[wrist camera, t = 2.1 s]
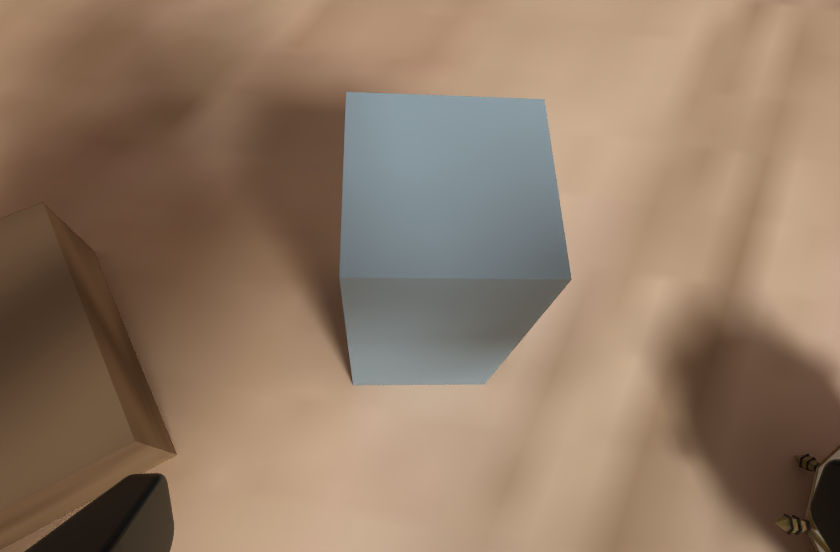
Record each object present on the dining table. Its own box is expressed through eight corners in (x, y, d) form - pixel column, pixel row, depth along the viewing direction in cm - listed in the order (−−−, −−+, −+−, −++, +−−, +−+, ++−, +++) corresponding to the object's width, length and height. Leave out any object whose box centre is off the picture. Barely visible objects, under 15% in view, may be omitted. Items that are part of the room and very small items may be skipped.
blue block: (484, 384, 21) (571, 279, 12) (353, 385, 21) (339, 276, 11) (475, 265, 23) (544, 99, 14) (355, 264, 23) (346, 91, 14)
